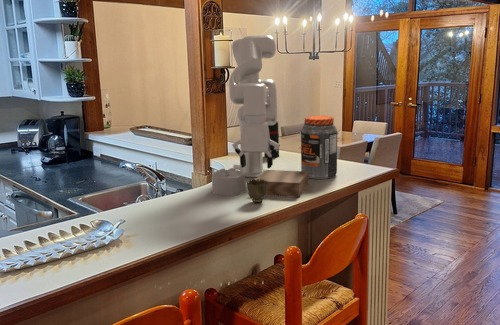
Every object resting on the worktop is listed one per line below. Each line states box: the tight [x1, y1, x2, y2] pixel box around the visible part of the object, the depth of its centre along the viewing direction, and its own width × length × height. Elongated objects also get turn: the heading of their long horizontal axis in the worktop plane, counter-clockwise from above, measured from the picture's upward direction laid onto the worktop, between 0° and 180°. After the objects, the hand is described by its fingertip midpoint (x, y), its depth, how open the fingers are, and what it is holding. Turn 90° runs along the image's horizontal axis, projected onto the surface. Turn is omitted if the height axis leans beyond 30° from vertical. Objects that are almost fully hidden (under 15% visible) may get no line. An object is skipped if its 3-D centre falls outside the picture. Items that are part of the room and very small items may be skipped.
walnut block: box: [254, 169, 310, 198], centre depth 183 cm, size 18×18×6 cm
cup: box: [246, 178, 267, 204], centre depth 167 cm, size 8×7×8 cm
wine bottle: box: [263, 121, 280, 159], centre depth 243 cm, size 8×10×30 cm
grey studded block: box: [211, 167, 246, 196], centre depth 183 cm, size 10×13×9 cm
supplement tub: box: [300, 115, 338, 180], centre depth 201 cm, size 16×16×26 cm
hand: (256, 167), depth 165 cm, fingers open, 9 cm apart
